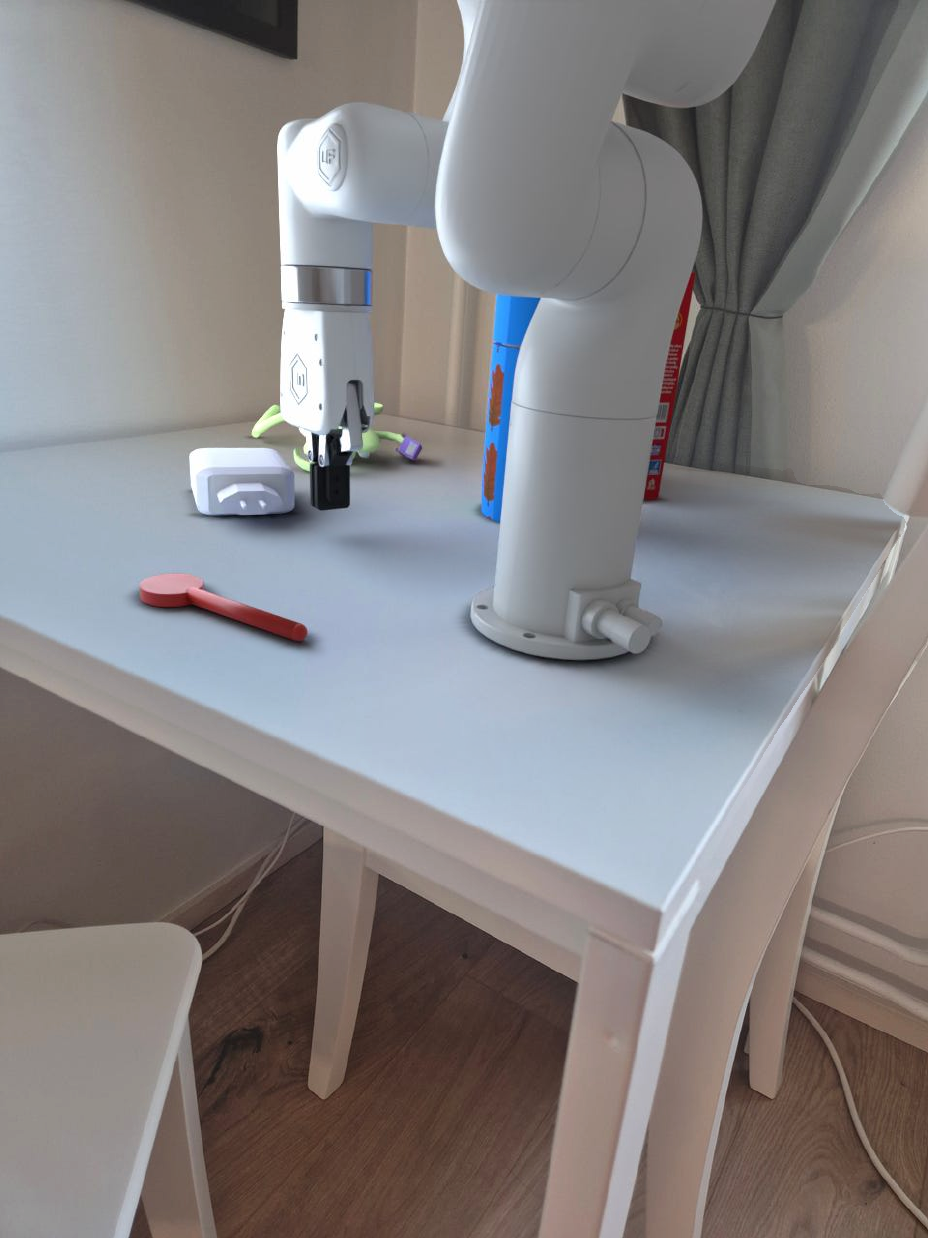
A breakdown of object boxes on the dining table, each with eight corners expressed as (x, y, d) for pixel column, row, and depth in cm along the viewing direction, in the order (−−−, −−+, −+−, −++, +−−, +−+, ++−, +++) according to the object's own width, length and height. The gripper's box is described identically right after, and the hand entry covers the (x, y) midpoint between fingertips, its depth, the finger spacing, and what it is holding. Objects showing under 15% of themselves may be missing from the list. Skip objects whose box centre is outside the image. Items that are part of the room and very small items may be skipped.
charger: (203, 535, 74) (191, 493, 87) (306, 532, 77) (280, 491, 90) (200, 483, 72) (188, 447, 85) (306, 482, 76) (279, 447, 88)
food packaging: (658, 498, 99) (695, 272, 90) (622, 501, 97) (656, 269, 87) (588, 470, 111) (615, 268, 102) (555, 471, 109) (579, 265, 99)
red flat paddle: (326, 632, 56) (327, 616, 56) (282, 654, 53) (281, 636, 52) (176, 581, 63) (175, 566, 63) (127, 596, 60) (125, 581, 59)
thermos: (576, 534, 83) (611, 261, 73) (471, 521, 84) (491, 253, 75) (583, 508, 93) (615, 264, 83) (489, 496, 94) (509, 256, 85)
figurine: (367, 430, 126) (368, 393, 124) (446, 470, 105) (448, 425, 103) (245, 433, 118) (244, 392, 116) (304, 476, 96) (304, 427, 94)
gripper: (252, 288, 73) (261, 493, 80) (324, 292, 62) (327, 531, 68) (330, 292, 77) (332, 487, 84) (411, 296, 66) (406, 522, 72)
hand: (330, 506), depth 76 cm, fingers closed
